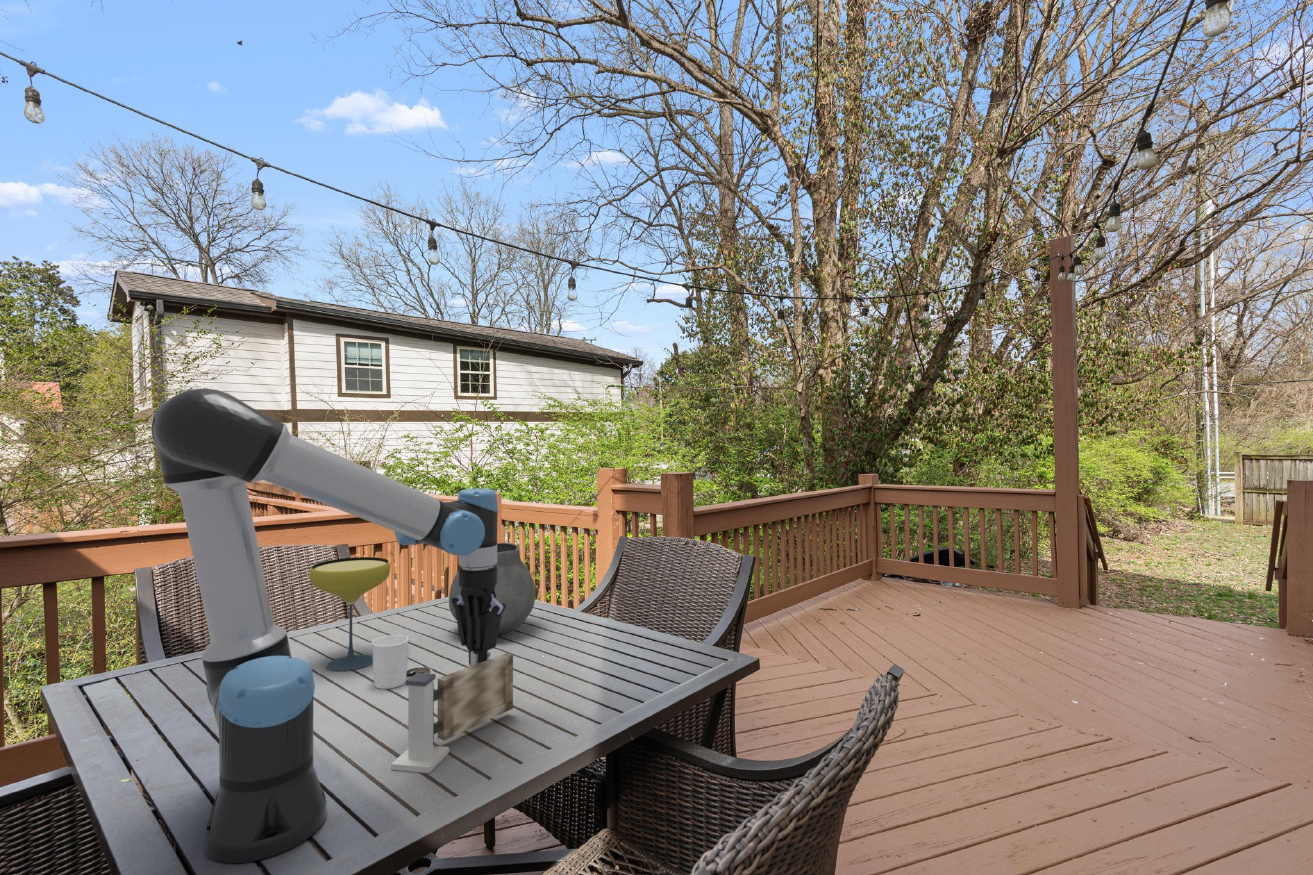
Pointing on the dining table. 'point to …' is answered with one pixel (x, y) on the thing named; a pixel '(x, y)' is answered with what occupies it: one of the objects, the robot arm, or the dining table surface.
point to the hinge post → (420, 728)
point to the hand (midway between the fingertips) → (478, 682)
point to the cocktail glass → (350, 593)
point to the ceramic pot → (507, 588)
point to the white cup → (390, 661)
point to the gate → (473, 696)
